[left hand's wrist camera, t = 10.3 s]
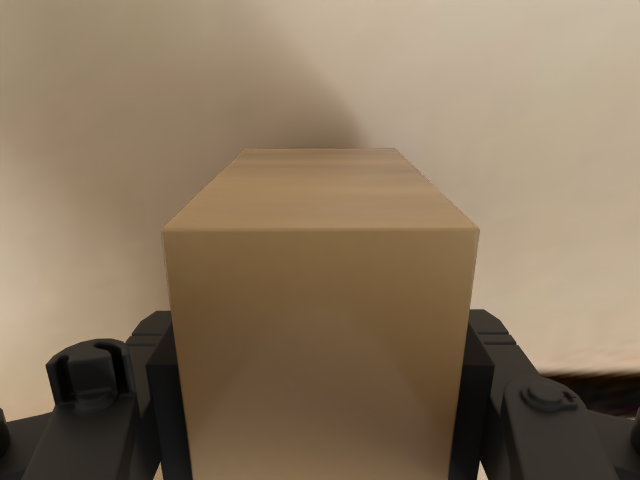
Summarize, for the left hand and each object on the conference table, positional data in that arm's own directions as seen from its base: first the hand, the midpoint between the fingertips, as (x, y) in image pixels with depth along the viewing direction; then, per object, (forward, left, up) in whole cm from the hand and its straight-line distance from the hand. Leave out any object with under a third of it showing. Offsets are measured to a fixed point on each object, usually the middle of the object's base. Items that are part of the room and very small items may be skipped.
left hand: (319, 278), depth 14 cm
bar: (+19, +14, -1) cm, 23 cm away
